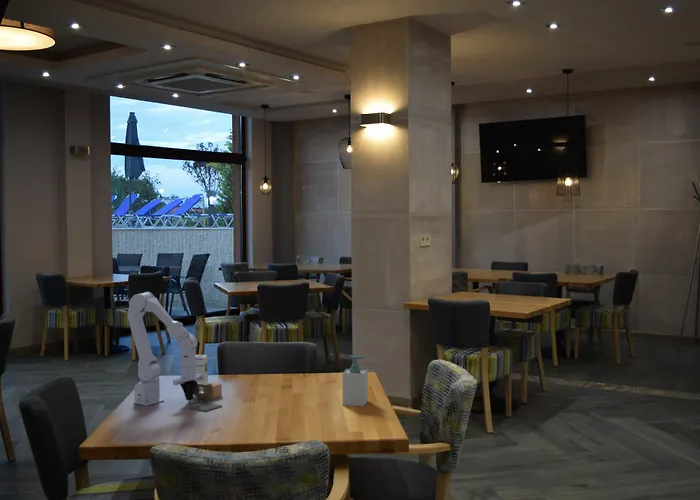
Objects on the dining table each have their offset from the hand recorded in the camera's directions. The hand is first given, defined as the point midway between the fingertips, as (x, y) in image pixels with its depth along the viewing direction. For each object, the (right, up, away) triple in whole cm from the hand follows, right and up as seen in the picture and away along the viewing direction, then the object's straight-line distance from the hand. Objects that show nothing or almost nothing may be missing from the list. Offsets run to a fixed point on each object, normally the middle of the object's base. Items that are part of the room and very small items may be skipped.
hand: (188, 399), depth 288 cm
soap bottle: (+67, -1, -1) cm, 67 cm away
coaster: (+8, -2, -7) cm, 11 cm away
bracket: (+4, -1, +6) cm, 7 cm away
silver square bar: (+3, -1, +5) cm, 6 cm away
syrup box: (-1, -1, +25) cm, 25 cm away
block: (+7, -1, +11) cm, 14 cm away
